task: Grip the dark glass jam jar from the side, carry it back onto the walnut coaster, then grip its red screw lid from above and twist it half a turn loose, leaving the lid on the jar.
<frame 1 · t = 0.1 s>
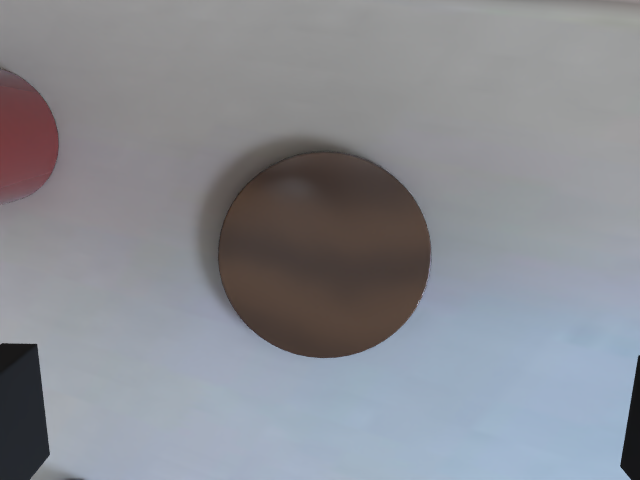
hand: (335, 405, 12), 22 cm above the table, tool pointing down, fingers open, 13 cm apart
coaster: (324, 256, 33), on the table
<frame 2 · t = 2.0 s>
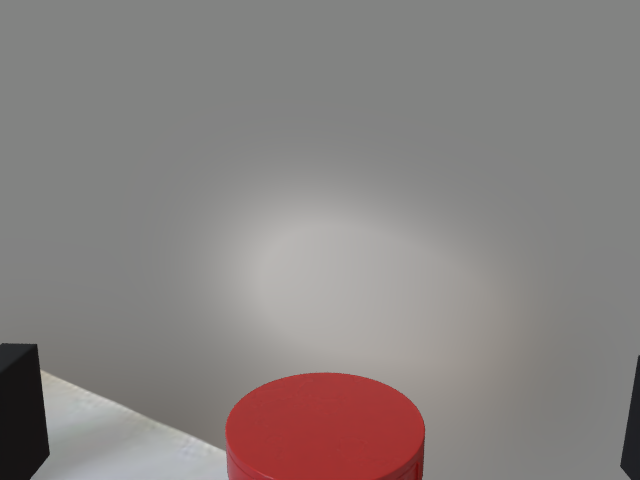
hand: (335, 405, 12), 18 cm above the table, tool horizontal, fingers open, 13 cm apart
jam lid: (324, 427, 22), point 12 cm above the table, screwed on, not yet turned
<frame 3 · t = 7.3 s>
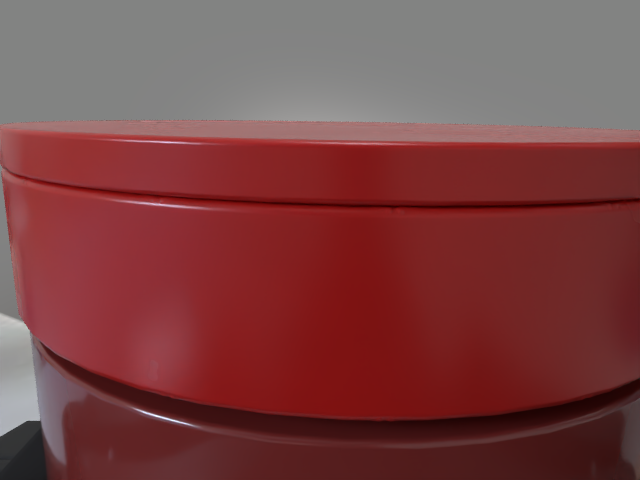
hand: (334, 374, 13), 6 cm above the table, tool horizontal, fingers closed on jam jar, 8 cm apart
jam lid: (348, 156, 7), point 12 cm above the table, screwed on, not yet turned
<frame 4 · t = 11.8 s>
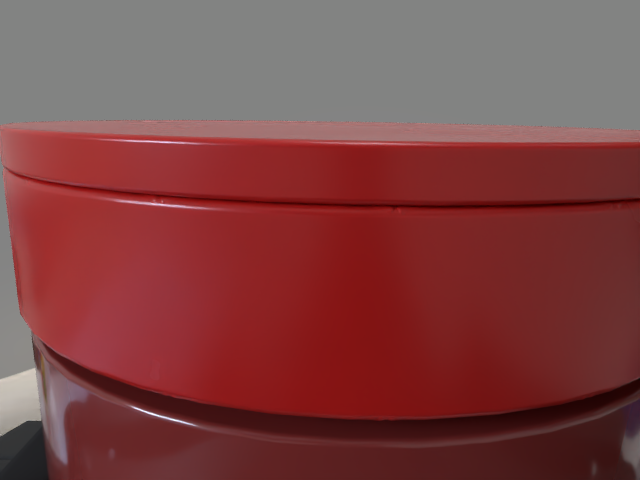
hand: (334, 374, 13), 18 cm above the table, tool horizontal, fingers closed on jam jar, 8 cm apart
jam lid: (349, 156, 7), point 24 cm above the table, screwed on, not yet turned
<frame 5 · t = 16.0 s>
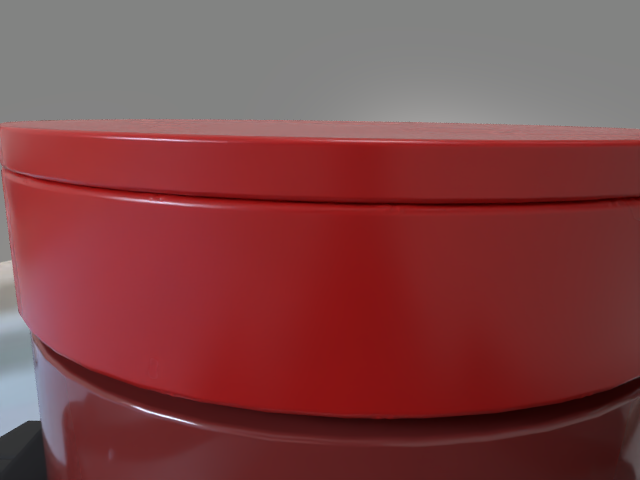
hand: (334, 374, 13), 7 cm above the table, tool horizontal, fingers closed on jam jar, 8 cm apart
jam lid: (348, 155, 7), point 12 cm above the table, screwed on, not yet turned
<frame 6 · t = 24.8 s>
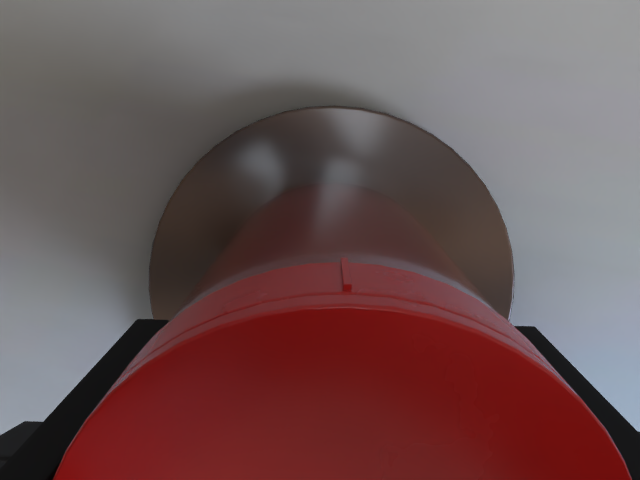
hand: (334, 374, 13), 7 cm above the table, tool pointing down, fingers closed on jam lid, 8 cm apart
jam jar: (331, 294, 19), point 1 cm above the table, touching coaster
coaster: (330, 287, 20), on the table
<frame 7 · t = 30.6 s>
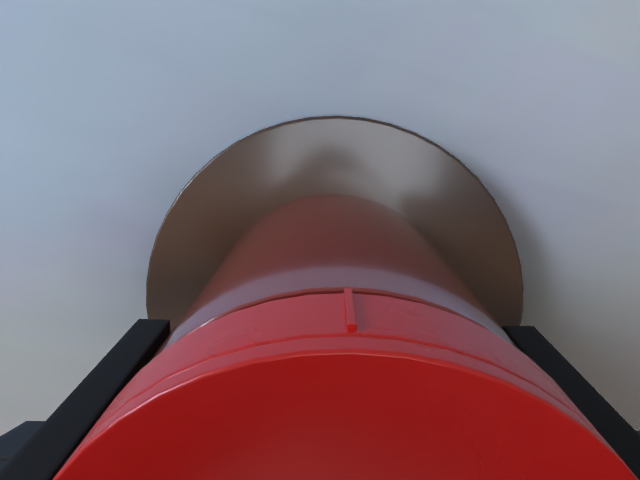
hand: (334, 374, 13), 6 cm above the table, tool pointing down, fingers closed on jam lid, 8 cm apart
jam jar: (333, 309, 18), point 1 cm above the table, touching coaster, gripper
coaster: (333, 301, 19), on the table
when the fingers open (6 cm above the table, at t = 30.9 s): jam lid stays where it is, point 13 cm above the table.
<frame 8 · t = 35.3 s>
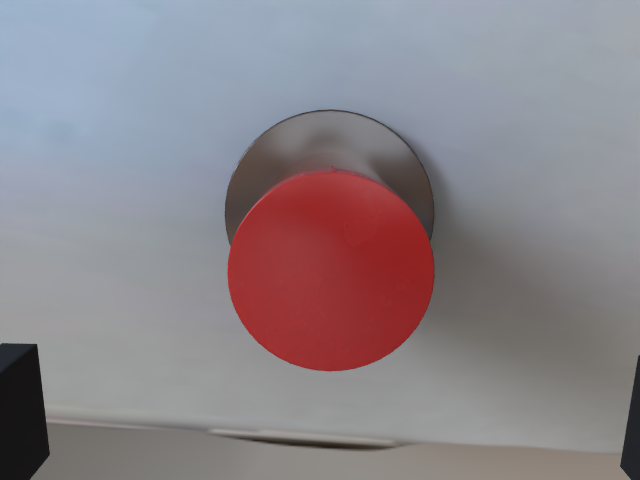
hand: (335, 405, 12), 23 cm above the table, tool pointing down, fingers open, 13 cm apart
jam jar: (329, 217, 33), point 1 cm above the table, touching coaster
jam lid: (330, 273, 21), point 13 cm above the table, turned 180° so far, risen 0.2 cm, still on its thread
coaster: (329, 215, 34), on the table
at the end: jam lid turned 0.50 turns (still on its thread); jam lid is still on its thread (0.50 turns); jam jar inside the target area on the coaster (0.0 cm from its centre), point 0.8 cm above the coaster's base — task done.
